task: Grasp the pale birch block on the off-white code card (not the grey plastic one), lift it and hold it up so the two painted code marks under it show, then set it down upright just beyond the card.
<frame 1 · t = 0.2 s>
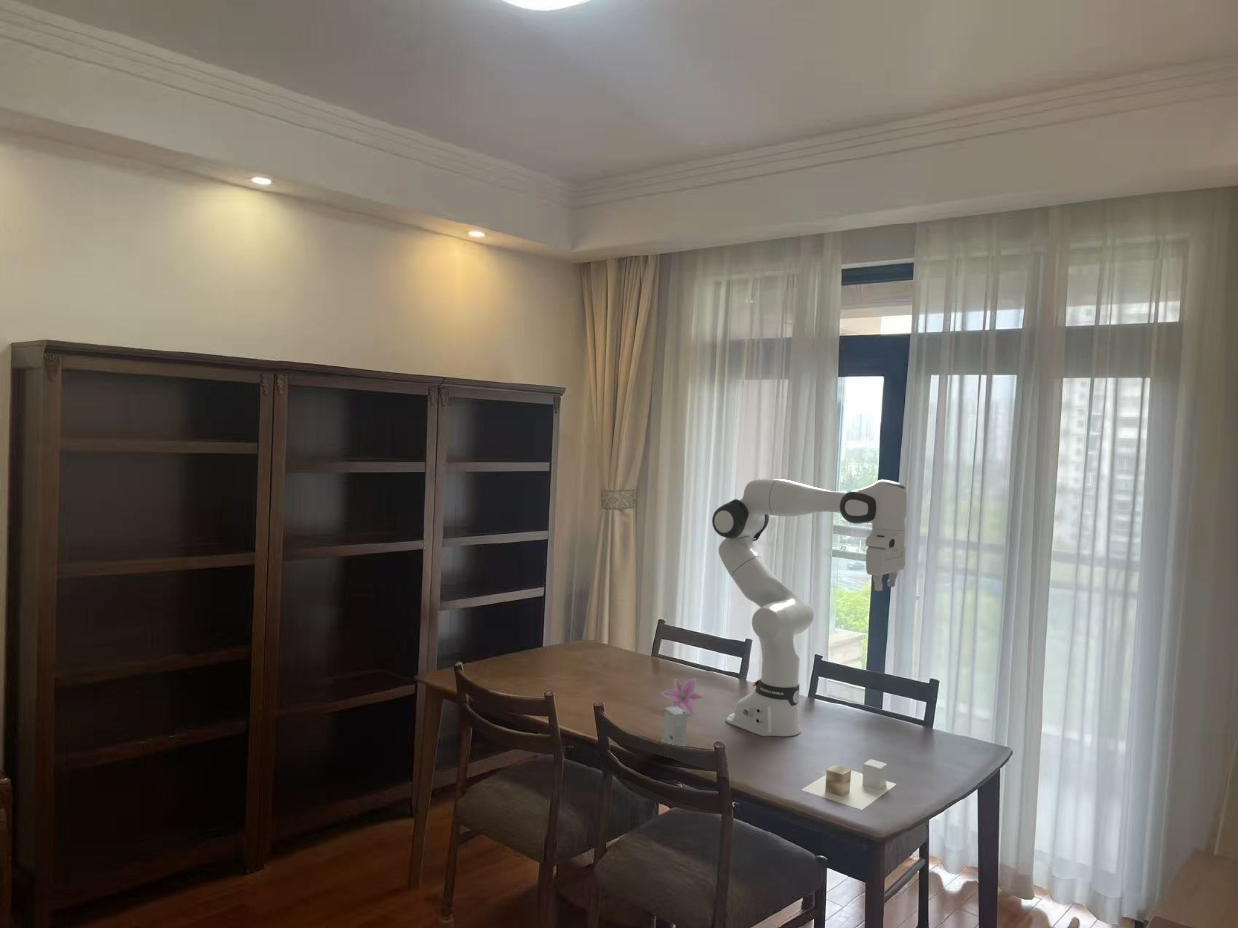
hand: (884, 588, 244), 48 cm above the table, tool pointing down, fingers open, 8 cm apart
code card: (849, 787, 223), on the table
skincare box: (673, 754, 240), on the table
grey block: (874, 784, 225), resting on code card
birch block: (837, 791, 220), resting on code card
lily: (681, 710, 278), on the table
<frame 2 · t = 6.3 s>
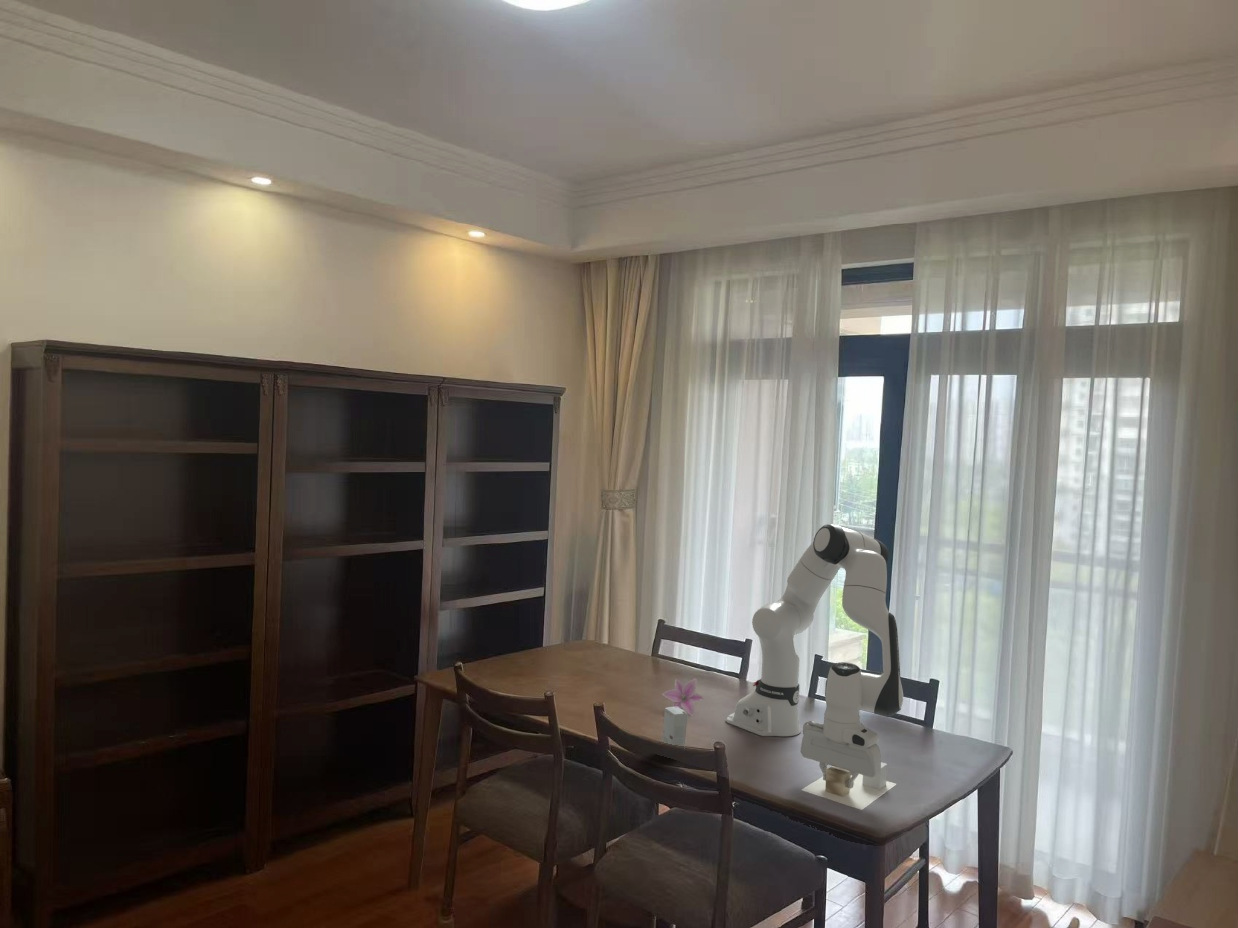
hand: (838, 783, 220), 2 cm above the table, tool pointing down, fingers closed on birch block, 4 cm apart
birch block: (837, 791, 220), resting on code card, touching gripper
everything else where it was.
when the fingers open (3 cm above the table, at t = 15.3 s): birch block drops 1 cm, on the table.
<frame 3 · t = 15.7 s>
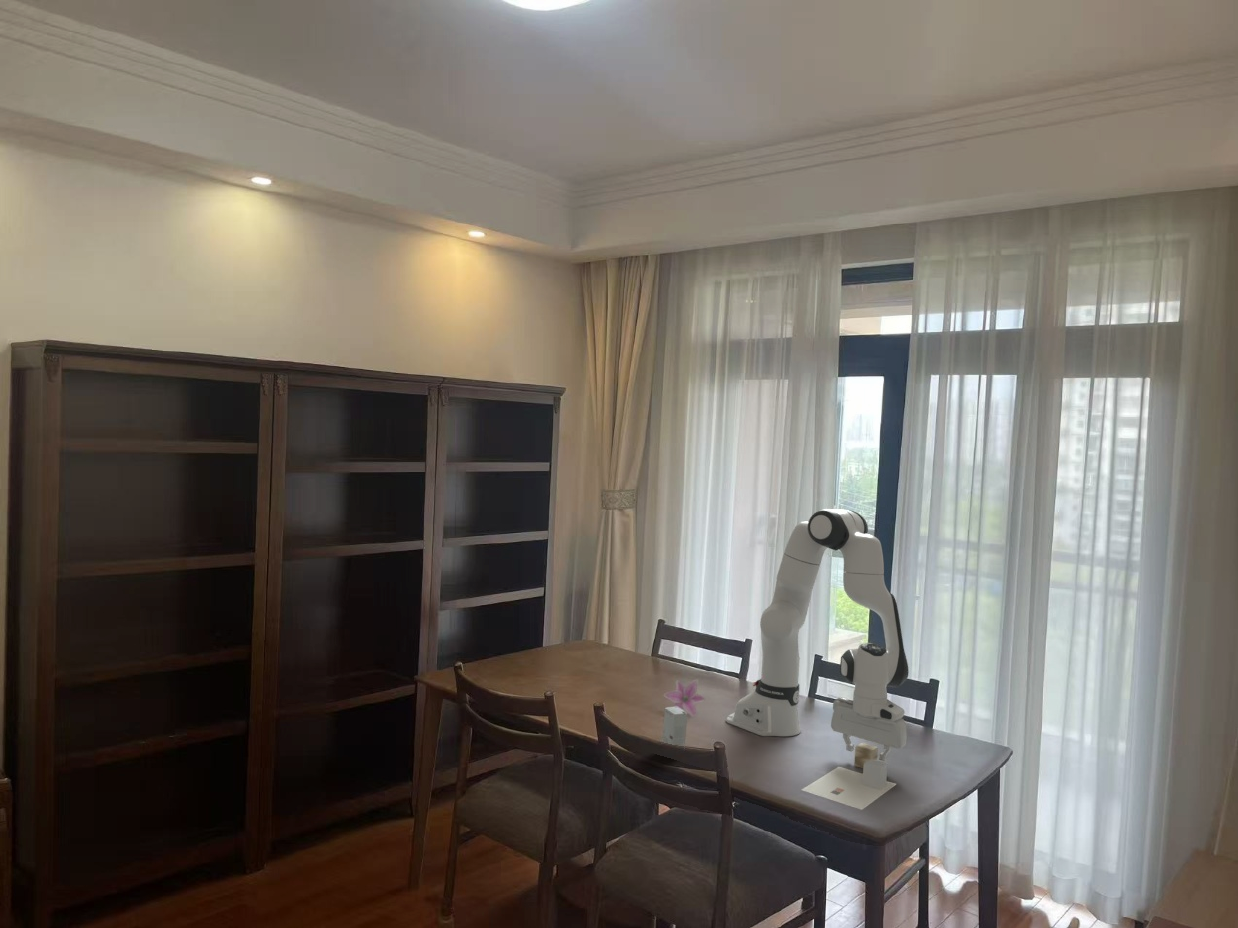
hand: (866, 755, 238), 3 cm above the table, tool pointing down, fingers open, 8 cm apart
birch block: (865, 766, 238), on the table
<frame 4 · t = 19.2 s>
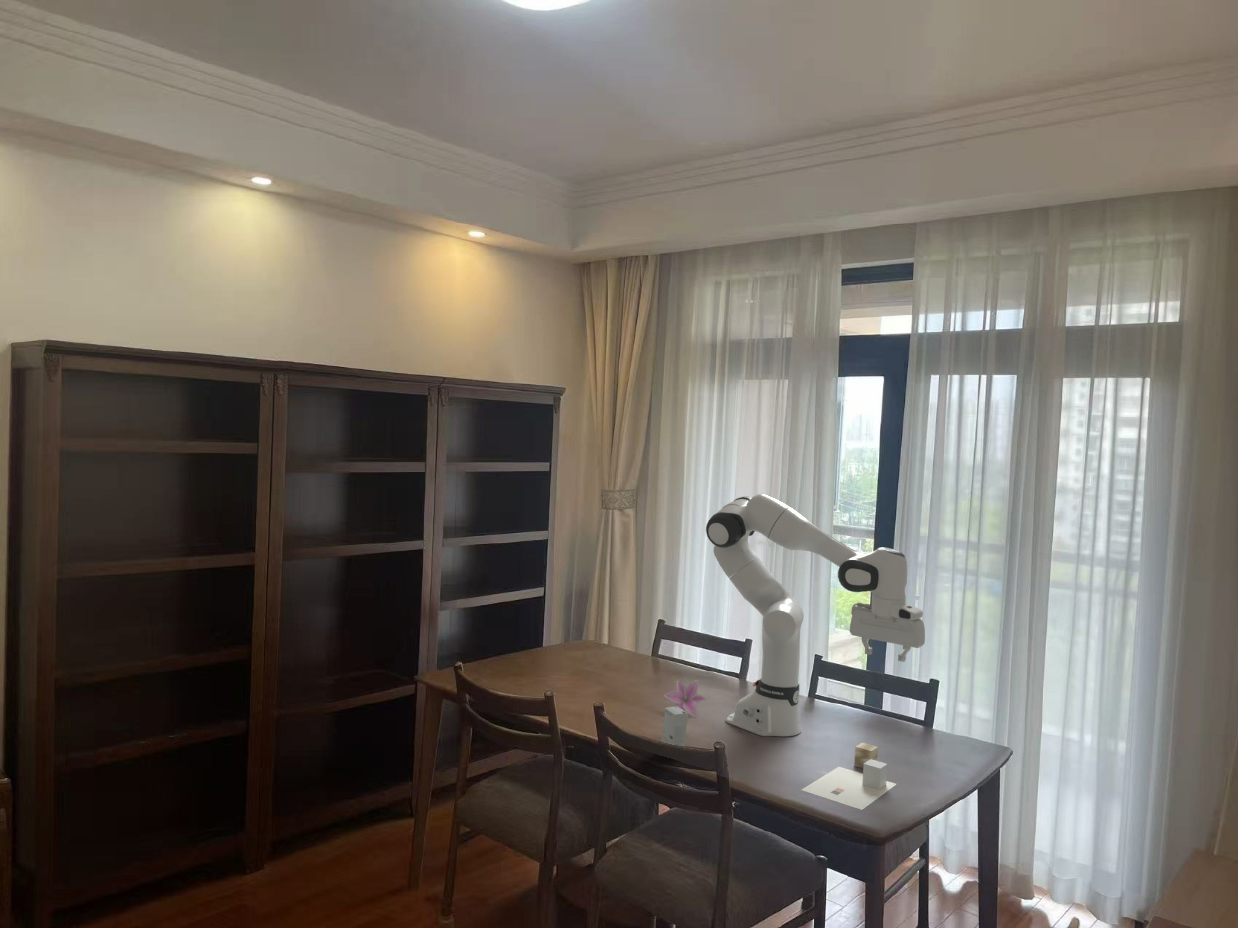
hand: (884, 657, 241), 29 cm above the table, tool pointing down, fingers open, 8 cm apart
at the end: birch block inside the target area (0.1 cm from its centre), on the table; birch block tilted 0°; the gripper is holding nothing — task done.
